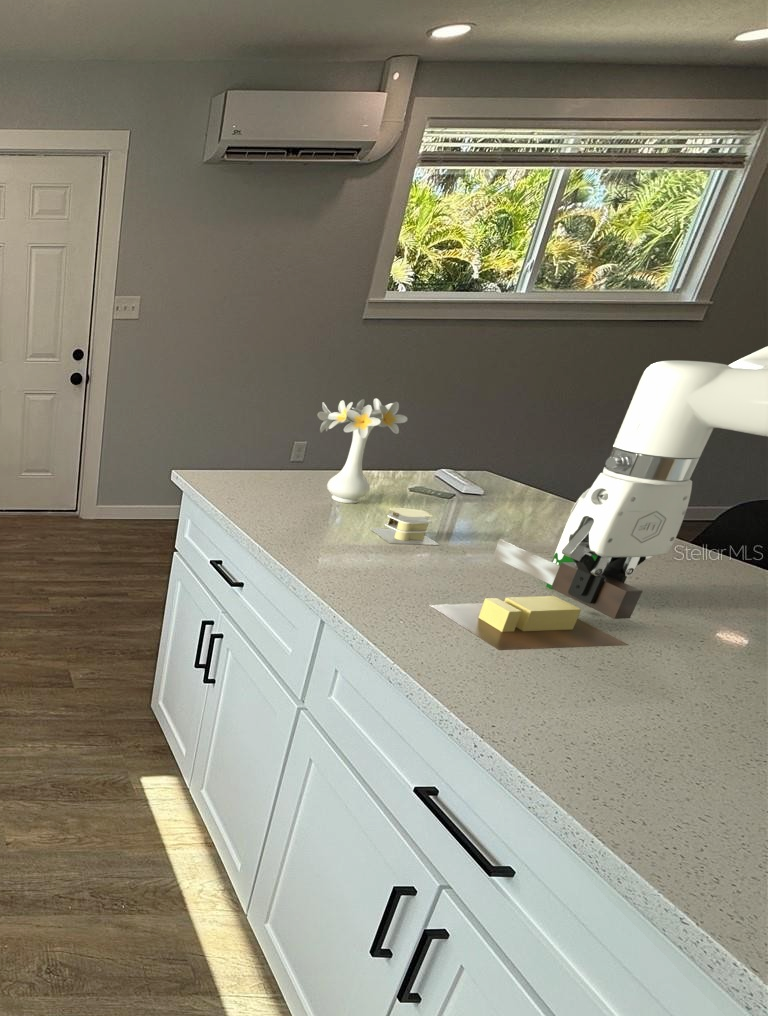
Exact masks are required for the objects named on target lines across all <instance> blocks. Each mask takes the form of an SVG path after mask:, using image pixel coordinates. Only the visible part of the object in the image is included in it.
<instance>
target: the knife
mask: <svg viewBox="0 0 768 1016" xmlns="http://www.w3.org/2000/svg"><path fill="white" fill-rule="evenodd" d="M495 547H496V548H495V551H494V552H493V556H492V557H493V558H495V559H497V560H498V561H501V562H503V563H505V564H507V565H509V566H511V567H513V568H515V569H517V570H519V571H521V572H524V573H526V574H527V575H530V576H532V577H534V578H536V579H538V580H540V581H542V582H544V583H546V584H547V583H548V584H550V585H552V586H551V588H552V589H554V590H553V591H556V592H558V593H560V594H563V595H565V596H567V597H568V598H571V599H572V600H574V601H577V602H578V603H580V604H582V605H585V606H587V607H589V608H590V609H593V610H595V611H597V612H599V613H601V614H603V615H605V616H607V617H609V618H612V619H613V620H625V619H631V617H632V615H633V613H634V610H635V609H636V608H637V607H636V606H637V605H638V603H639V601H640V598H641V596H642V594H643V590H642V589H640V588H637V587H634V586H632V585H630V584H628V583H626V582H624V583H623V582H621V581H619V580H616V579H614V578H612V577H609V576H607V575H605V574H601V576H604V577H605V580H604V581H603V583H602V586H601V588H600V590H599V593H598V595H597V597H596V599H595V602H594V603H585V602H583V601H581V600H579V599H577V598H575V597H573V596H571V595H569V594H568V590H569V588H570V586H571V583H572V581H573V578H574V576H575V574H576V571H577V569H578V568H576V567H575V566H574V565H575V562H561V564H560V565H557V564H555V563H553V562H552V560H551V561H550V560H548V559H546V558H544V557H542V556H540V555H537V554H536V553H533V552H531V551H528V550H526V549H524V548H523V547H522V548H521V547H520V546H517V545H514V544H513V543H510V542H508V541H506V540H504V539H502V538H500V539H498V542H497V544H496V546H495ZM552 589H551V590H552Z"/></svg>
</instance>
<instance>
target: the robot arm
mask: <svg viewBox="0 0 768 1016" xmlns="http://www.w3.org/2000/svg"><path fill="white" fill-rule="evenodd" d="M714 429H722V430H729V431H734V432H740V433H746V434H750V435H755V436H756V435H757V436H762V437H768V345H767V346H765V347H763V348H760V349H758V350H756V351H754V352H752V353H751V354H748V355H746V356H744V357H741V358H739V359H738V360H736V361H733V362H732V363H730V364H724V363H719V362H711V361H699V360H698V361H697V360H678V359H677V360H676V359H675V360H661V361H657V362H654V363H651V364H650V365H649V366H648V367H646V369H645V370H644V371H643V373H642V375H641V377H640V379H639V382H638V384H637V386H636V389H635V391H634V394H633V396H632V400H631V401H630V404H629V407H628V408H627V410H626V413H625V416H624V418H623V421H622V423H621V426H620V428H619V430H618V432H617V435H616V438H615V440H614V443H613V445H612V448H611V450H610V452H609V454H608V456H607V459H605V461H604V463H605V464H604V467H603V468H602V469H603V470H602V472H600V473H599V474H598V475H597V477H596V479H595V480H594V482H593V483H592V484H591V486H590V487H589V488H590V490H589V492H588V493H587V495H586V497H585V499H584V501H583V502H582V504H581V506H580V508H579V510H578V512H577V514H576V517H575V519H574V521H573V524H572V526H571V529H570V532H569V536H568V541H569V543H568V544H567V545H566V546H565V548H564V549H563V550H562V554H564V555H566V556H568V557H570V558H572V559H573V560H574V562H575V565H574V566H575V567H576V568H578V569H577V571H576V574H575V576H574V578H573V581H572V583H571V586H570V588H569V590H568V594H569V595H571V596H573V597H575V598H577V599H579V600H581V601H583V602H585V603H594V602H595V599H596V597H597V595H598V593H599V590H600V588H601V586H602V583H603V581H604V580H605V577H604V576H601V574H605V575H607V576H609V577H612V578H614V579H616V580H619V581H621V582H623V583H626V580H627V578H628V577H629V576H632V575H633V574H634V573H635V571H636V569H637V567H638V566H639V565H641V564H642V563H644V562H645V561H647V560H648V559H651V558H654V557H658V556H662V555H665V554H667V553H668V552H670V550H671V549H672V547H673V545H674V543H675V541H676V540H677V539H676V538H677V536H678V534H679V532H680V529H681V526H682V524H683V522H684V518H685V515H686V512H687V509H688V506H689V503H690V500H691V494H692V488H693V481H692V480H691V478H692V475H693V473H694V471H695V468H696V467H697V464H698V462H699V460H700V458H701V456H702V453H703V452H704V449H705V447H706V445H707V444H708V441H709V439H710V436H711V435H712V432H713V431H714ZM591 555H595V556H597V558H596V560H594V559H593V557H592V556H591ZM605 567H606V568H605Z"/></svg>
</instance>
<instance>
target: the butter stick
mask: <svg viewBox="0 0 768 1016" xmlns="http://www.w3.org/2000/svg"><path fill="white" fill-rule="evenodd" d="M503 601H504V602H505V603H507V604H509V605H511V606H513V607H515V608H516V609H518V610H520V611H522V612H521V615H520V617H519V620H518V623H517V625H516V627H517V628H518V629H520V630H522V631H544V630H571V629H573V628H574V625H575V623H576V621H577V618H578V619H579V616H580V614H581V611H582V609H581V608H579V607H578V606H575V605H573V604H572V603H570V602H567V601H565V600H563V599H562V598H559V597H557V596H555V595H541V596H536V595H535V596H508V597H505V599H504V600H503Z"/></svg>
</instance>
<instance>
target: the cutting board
mask: <svg viewBox="0 0 768 1016" xmlns="http://www.w3.org/2000/svg"><path fill="white" fill-rule="evenodd" d="M483 603H484V602H477V603H476V602H475V603H473V602H472V603H445V604H428V606H429V607H430V608H432V609H434V610H435V611H436V612H438V613H440V614H441V615H443V616H445V617H446V618H448V619H449V620H451V621H452V622H454V623H456V624H457V625H459V626H460V627H461V628H463V629H465V630H466V631H468V632H469V633H471V634H473V635H474V636H476V637H478V639H481V640H482V641H484V642H485V643H487V644H488V645H490V646H491V647H493V648H494V649H496V650H498V651H514V650H516V651H517V650H519V651H520V650H539V649H540V650H541V649H567V648H568V649H569V648H592V647H614V646H615V647H616V646H617V647H619V646H621V647H622V646H629V643H626V642H625V641H623V640H620V639H618V638H617V637H615V636H613V635H611V634H609V633H607V632H605V631H603V630H601V629H599V628H597V627H595V626H593V625H591V624H589V623H587V622H586V621H584V620H582V619H580V618H579V617H578V618H577V621H576V623H575V625H574V628H573V629H571V630H544V631H522V630H520V629H518V628H517V627H516V628H515V630H514V632H501V631H500V630H498V629H496V628H495V627H493V626H491V625H490V624H488V623H486V622H485V621H483V620H481V619H480V618H479V615H480V612H481V609H482V606H483Z"/></svg>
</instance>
